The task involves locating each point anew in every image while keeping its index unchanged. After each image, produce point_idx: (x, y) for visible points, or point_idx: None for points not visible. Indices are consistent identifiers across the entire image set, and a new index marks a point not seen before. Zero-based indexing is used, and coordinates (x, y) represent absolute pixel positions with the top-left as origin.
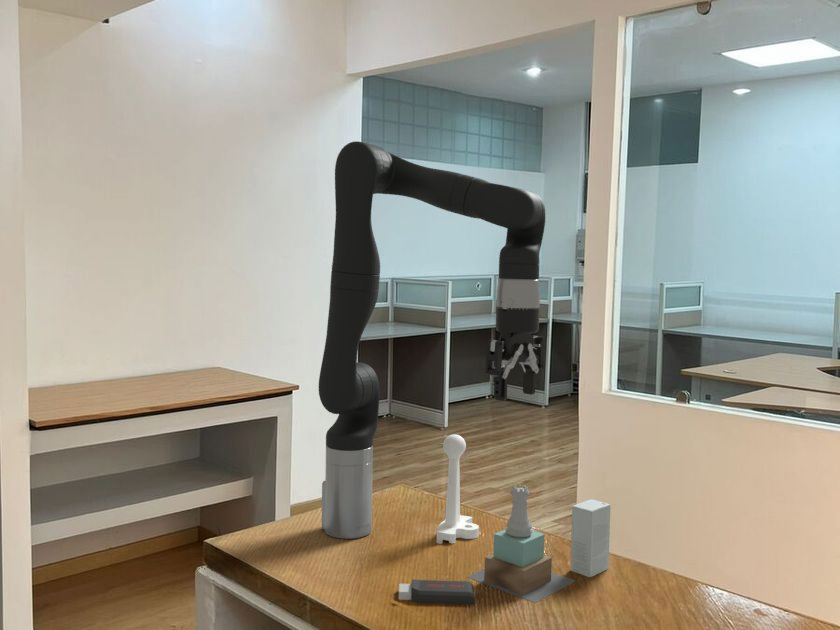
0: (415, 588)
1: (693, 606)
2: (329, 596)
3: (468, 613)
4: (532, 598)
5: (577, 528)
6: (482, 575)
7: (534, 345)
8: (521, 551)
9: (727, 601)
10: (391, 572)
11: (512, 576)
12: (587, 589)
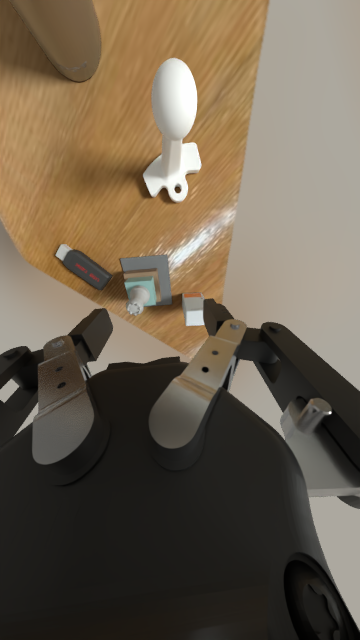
0: (64, 264)
1: (192, 345)
2: (7, 210)
3: (94, 292)
4: None
5: (184, 309)
6: (130, 264)
7: (284, 433)
8: None
9: None
10: (73, 207)
11: None
12: (170, 311)
